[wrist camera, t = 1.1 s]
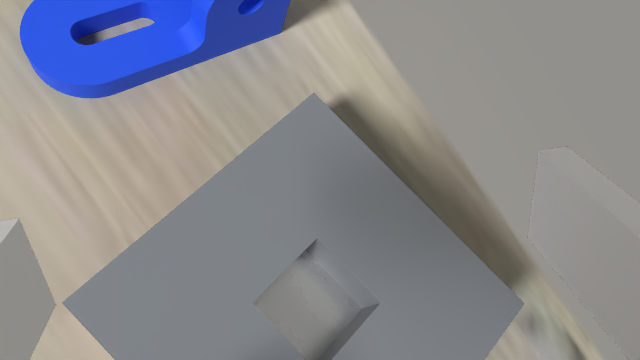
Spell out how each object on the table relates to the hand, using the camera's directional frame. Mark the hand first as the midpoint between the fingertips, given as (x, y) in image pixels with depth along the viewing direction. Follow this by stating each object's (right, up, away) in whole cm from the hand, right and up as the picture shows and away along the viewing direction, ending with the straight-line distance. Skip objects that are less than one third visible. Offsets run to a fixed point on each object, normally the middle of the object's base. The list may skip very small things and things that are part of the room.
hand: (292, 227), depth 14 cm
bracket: (-12, +13, +27) cm, 32 cm away
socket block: (-1, -8, +22) cm, 24 cm away
